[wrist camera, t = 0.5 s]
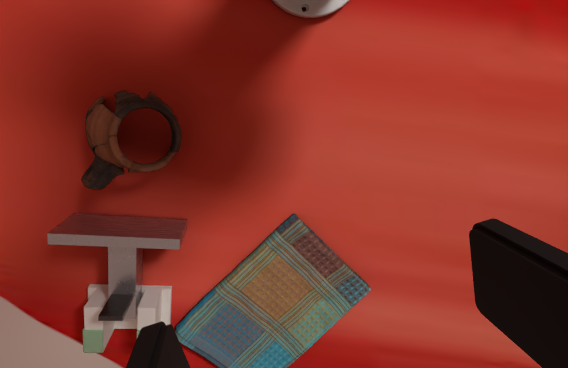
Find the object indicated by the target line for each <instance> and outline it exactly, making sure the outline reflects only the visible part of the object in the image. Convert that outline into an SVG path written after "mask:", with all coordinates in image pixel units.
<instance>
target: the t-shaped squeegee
mask: <svg viewBox="0 0 568 368" xmlns="http://www.w3.org/2000/svg"><path fill="white" fill-rule="evenodd" d="M186 228H187V219H170V218H152V217H134V216H116V215H98V214H80V213H73V214H72V215H71V216H69V217H68V218H67V219H65V220H64V221H63V222H62V223H60V224H59V225H58V226H56V227H55V228H54V229H52V230H51V231H50V232H48V233H47V238H48V244H53V245H78V246H103V247H108V293H109V299H108V300H107V302H106V304H105V306H104V307H103V309H102V311H101V312H100V314H99V316H98V321H123V319H136V316H137V314H138V306H139V304H140V301H141V299H142V267H143V248H153V249H178V250H180V247H181V244H182V241H183V238H184V235H185V232H186Z"/></svg>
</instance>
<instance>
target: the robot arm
mask: <svg viewBox="0 0 568 368" xmlns="http://www.w3.org/2000/svg"><path fill="white" fill-rule="evenodd" d="M272 1H273V2H274V3H275V4H276V5H277V6H278V7H280V8H281V9H283V10H284V11H286V12H288V13H290V14H292V15H294V16H298V17H303V18H318V17H323V16H326V15H329V14H331V13H333V12H335V11H337V10H338V9H340V8H341V7H342V6H344V5H345V4H346V3H347V2H348V1H349V0H272ZM303 7H304V8H305V10H306V11H305V12H303V11H302V8H303ZM469 238H470V249H471V260H472V271H473V282H474V293H475V302H476V306H477V308H478V310H479V311H480V312H481V313H482V315H484V316H485V317H486V318H487V319H488V320H489V321H490V322H491V323H493V324H494V325H495V326H496V327H497V328H498V329H499V330H501V331H502V332H503V333H504V334H505V335H506V336H507V337H508V338H510V339H511V340H512V341H513V342H514V343H515V344H516V345H517V346H519V347H520V348H521V349H522V350H523V351H524V352H525V353H526V354H528V355H529V356H530V357H531V358H532V359H533V360H534V361H536V362H537V363H538V364H539V365H540V366H541V367H542V368H568V253H566V252H564V251H562V250H560V249H558V248H556V247H553V246H551V245H549V244H547V243H545V242H543V241H541V240H539V239H537V238H535V237H533V236H530V235H528V234H526V233H524V232H522V231H520V230H518V229H516V228H514V227H512V226H510V225H508V224H505V223H503V222H501V221H499V220H497V219H489V220H486V221H483V222H480V223H476V224H475V225H474V226H473V230H471V231H470V233H469ZM126 368H190V366H189V364H188V361H187V359H186V356H185V354H184V352H183V349H182V347H181V345H180V342H179V340H178V338H177V335H176V333H175V331H174V328H173V326H172V325H171V324H169V325H166V324H165V323H164V322H162V321H161V322H158V323H155V324H152V325H148V326H145V327H143V328H141V330H140V332H139V335H138V337H137V340H136V343H135V345H134V348H133V351H132V353H131V356H130V358H129V361H128V364H127V366H126Z"/></svg>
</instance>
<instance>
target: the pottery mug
mask: <svg viewBox="0 0 568 368" xmlns="http://www.w3.org/2000/svg"><path fill="white" fill-rule="evenodd" d="M115 97H116V102H115V103H116V106H115V112H114V113H113V112H111V111H110V110H109V109H107V108H106V107H105V105H104V104H102V103H103V102H104V101H105V100H106V99H105V97H103V96H102V97H100V98H98V99H97V100H96V101H95V102H94V103H93V105H92V106H91V107H90V109H89V111H88V112H87V115H86V135H87V140H88V143H89V146H90V148H91V150H92V151H93V153H94V154H95V158H94V161H93V163H92V164H91V165H90V167H89V168H88V169H87V170H86V172H85V173H84V175H83V176H82V179H81V180H82V182H83V184H84V186H85V187H87V188H89V189H92V190H101V189H103V188H105V187H106V186H107V185H108V184H109V183H110V182H111V181H112V180H113V179H114V178H115V177H116V176H118V175H122V174H124V173H125V172H124V169H123V168H124V167H125V168H128V172H152V171H156V170H160V169H161V168H163V167H165V166H166V165H167V164H168V162H169V161H170V160H171V159H172V158H173V156H174V155H175V153H176V152H177V151H179V148H180V144H181V129H180V126H179V123H178V120H177V118H176V116H174V114H173V111H172V109H171V108H170V107H169V106H168V105H166V104H165V103H164V102H163V101H162V100H161V99H159V98H158V97H157V96H156V95H155V94H153V93H152V92H149V95H148V96H147V97H146V98H145V99H142V98H141V97H140V96H139V95H137V94H135V93H129V92H127V91H120V92H117V93H115ZM140 108H151V109H154V110H156V111H158V112H160V113H161V114H162V115H163V116H164V117H165V118H166V119H167V120H168V122H169V124H170V127H171V130H172V142H171V146H170V149H169V151H168V152H167V154H166V155H165V156H164V157H163V158H161V159H159V160H158V161H156V162H153V163H150V164H139V163H136V162H133V161H131V160H129V159H128V158H127V157H126V156H125V155H124V154H123V153H122V151H121V150H120V147H119V145H118V140H117V133H118V128H119V125H120V123H121V122H122V120H123V118H124V117H125V116H126V115H127V114H129V113H130V112H132V111H134V110H136V109H140Z"/></svg>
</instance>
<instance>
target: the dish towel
mask: <svg viewBox="0 0 568 368" xmlns="http://www.w3.org/2000/svg"><path fill="white" fill-rule="evenodd" d="M369 291H370V287H369V285H368V284H367V283H366V282H365V281H364V280H363V279H362V278H361V277H360V276H359V275H358V274H357V273H356V272H354V271H353V270H352V269H351V268H350V267H349V266H348V265H347V264H346V263H345V262H344V261H342V259H340V257H338V255H337V254H335V253H334V252H333V251H332V249H331V248H330V247H328V246H327V245H326V244H325V243H324V242H323V241H322V240H321V239H320V238H319V237H318V236H317V235H316V234H315V233H314V232H313V231H312V230H311V229H310V228H309V227H307V226H306V225H305V224H304V223H303V222H302V221H301V220H300V219H299V218H298V217H297V216H296V214H292V215H291V216H290V217H289V218H288V219H287V220H286V221H284V222H283V223H282V224H281V225H280V226H279V227H278V228H277V229H276V230H275V231H274V232H273V233H271V234H270V235H269V236H268V237H267V238H266V239H265V240H264V241H263V242H262V243H261V244H260V246H258V247H257V248H256V249H255V251H253V252H252V253H251V254H250V255H249V256H248V257H247V258H246V259H244V260H243V261H242V262H241V263H240V264H239V265H238V266H237V267H236V268H235V269H234V270H233V271H232V272H231V273H230V274H229V275H227V276H226V277H225V278H224V279H223V280H222V281H221V282H220V283H219V284H218V285H217V286H215V287H214V288H213V289H212V290H211V291H210V292H209V293H208V294H207V295H206V296H205V297H204V298H203V299H202V300H201V301H200V302H199V303H198V304H197V305H196V306H195V307H194V308H193V309H192V310H191V311H190V312H189V313H188V314H187V315H186V316H185V318H184V319H183V320H182V321H181V322H180V323H179V324H177V325H176V330H175V333H176V335H177V338H178V340H179V342H180V343H182V344H183V345H185V346H187V347H189V348H190V349H192V350H194V351H195V352H197V353H199V354H200V355H202V356H203V357H205V358H207V359H208V360H209V361H211V362H212V363H214V364H215V365H217V366H218V367H220V368H287V367H288V366H289V365H290V364H292V363H293V362H294V361H295V360H296V359H298V358H299V357H300V356H301V355H302V354H303V353H304V352H305V351H306V350H307V349H308V348H310V347H311V346H312V345H313V344H314V343H315V342H316V341H317V340H318V339H319V338H320V337H321V336H322V335H323V334H324V333H325V332H327V330H328V329H330V328H331V327H332V326H333V325H334V324H335V323H336V322H337V321H338V320H339V319H340V318H341V317H342V316H344V315H345V314H346V313H347V312H348V311H349V310H350V309H351V308H352V307H353V306H354V305H355V304H356V303H358V302H359V301H360V300H361V299H362V298H363V297H364V296H366V294H367V293H368V292H369Z"/></svg>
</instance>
